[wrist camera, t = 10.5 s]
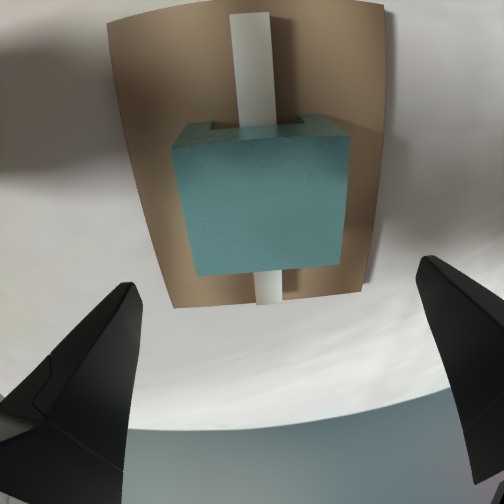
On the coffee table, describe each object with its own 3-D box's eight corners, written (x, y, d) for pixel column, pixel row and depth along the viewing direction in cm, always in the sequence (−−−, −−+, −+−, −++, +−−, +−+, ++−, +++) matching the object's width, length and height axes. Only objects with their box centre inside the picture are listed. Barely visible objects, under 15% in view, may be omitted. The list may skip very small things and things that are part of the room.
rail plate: (175, 298, 22) (171, 321, 20) (114, 24, 11) (96, 22, 9) (356, 282, 22) (366, 303, 20) (375, 6, 11) (394, 2, 9)
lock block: (203, 229, 17) (197, 276, 14) (186, 123, 14) (170, 148, 11) (320, 219, 17) (339, 264, 14) (322, 113, 14) (349, 135, 10)
